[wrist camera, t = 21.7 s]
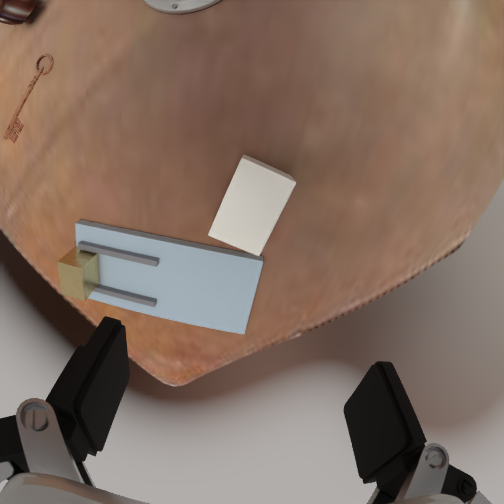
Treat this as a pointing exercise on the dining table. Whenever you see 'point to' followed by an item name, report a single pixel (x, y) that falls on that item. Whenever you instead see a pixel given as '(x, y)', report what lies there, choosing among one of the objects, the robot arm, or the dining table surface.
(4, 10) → the alarm clock
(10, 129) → the key
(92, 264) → the block
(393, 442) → the robot arm
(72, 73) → the dining table surface
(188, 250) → the plate
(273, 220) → the white rectangular block
